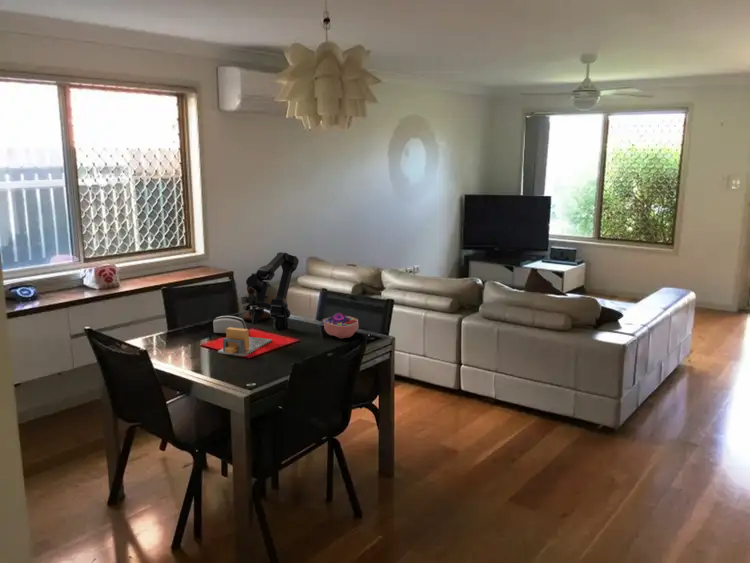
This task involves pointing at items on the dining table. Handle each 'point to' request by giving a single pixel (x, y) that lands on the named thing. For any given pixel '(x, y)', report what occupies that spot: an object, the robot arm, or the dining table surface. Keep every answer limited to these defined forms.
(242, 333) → the tan chunky block
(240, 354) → the baseplate
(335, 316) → the cell model
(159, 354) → the dining table surface
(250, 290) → the brown round-based stand
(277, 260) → the robot arm
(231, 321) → the grey napkin holder
